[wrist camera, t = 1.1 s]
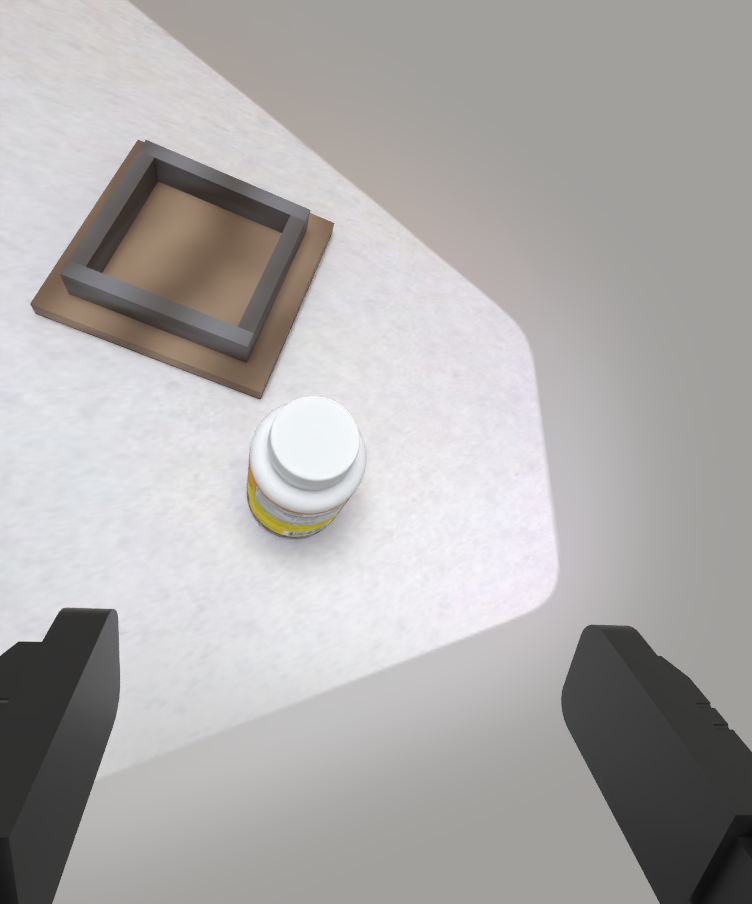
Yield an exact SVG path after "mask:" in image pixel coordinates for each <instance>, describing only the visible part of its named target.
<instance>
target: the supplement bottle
mask: <svg viewBox="0 0 752 904" xmlns="http://www.w3.org/2000/svg"><path fill="white" fill-rule="evenodd" d="M365 467H366V448H365V444H364V440H363V438H362V435H361V433H360V431H359V429H358V427H357V424H356V422H355V420H354V418H353V417H352V415H351V414H350V413H349V412H348V411H347V410H346V408H344V407H343V406H342V405H340V404H339V403H337V402H335V401H333V400H331V399H328V398H325V397H320V396H306V397H301V398H298V399H295V400H293V401H291V402H290V403H287V404H284V405H282V406H280V407H278V408H276V409H275V410H273V411H272V412H270V413H269V414H268V415H267V416H266V417H265V418H264V419H263V420H262V421H261V423H260V424H259V426H258V427H257V429H256V431H255V433H254V435H253V438H252V442H251V446H250V454H249V468H248V481H247V499H248V504H249V507H250V509H251V512H252V514H253V515H254V517H255V518H256V520H257V521H258V522H259V523H260V524H261V525H262V526H263V527H264V528H265V529H267V530H268V531H270V532H271V533H273V534H275V535H278V536H281V537H285V538H304V537H308V536H311V535H314V534H316V533H318V532H319V531H321V530H322V529H324V528H325V527H326V526H327V525H328V524H329V523H330V522H331V521H332V520H333V519H334V517H335V516H336V515H337V514H338V512H339V511H340V510H341V509H342V507H343V506H344V505H345V504H346V502H347V501H348V500H349V499H350V497H351V496H352V495H353V493H354V492H355V490H356V489H357V488H358V486H359V484H360V482H361V480H362V478H363V475H364V472H365Z"/></svg>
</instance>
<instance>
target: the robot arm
mask: <svg viewBox="0 0 752 904" xmlns="http://www.w3.org/2000/svg"><path fill="white" fill-rule="evenodd" d="M119 693H120V664H119V632H118V615H117V611H116V610H115V609H92V608H63V609H62V610H61V611H60V612H59V613H58V615H57V617H56V618H55V620H54V622H53V624H52V625H51V627H50V629H49V631H48V632H47V634H46V636H45V638H44V639H43V641H42V642H17V643H16V644H15V645H14V646H12V647H11V648H10V649H9V650H7V651H6V652H5V653H3V654H2V655H1V656H0V904H52V902H53V899H54V896H55V893H56V891H57V888H58V885H59V882H60V879H61V876H62V873H63V870H64V867H65V864H66V862H67V859H68V856H69V853H70V850H71V847H72V844H73V841H74V838H75V835H76V833H77V829H78V827H79V824H80V821H81V818H82V815H83V812H84V809H85V806H86V803H87V800H88V798H89V795H90V792H91V789H92V786H93V783H94V780H95V777H96V774H97V771H98V769H99V766H100V763H101V760H102V757H103V754H104V751H105V748H106V745H107V742H108V739H109V737H110V734H111V731H112V728H113V725H114V721H115V717H116V713H117V708H118V702H119ZM561 698H562V699H561V701H562V712H563V716H564V720H565V723H566V725H567V727H568V729H569V731H570V733H571V735H572V737H573V739H574V741H575V743H576V745H577V747H578V749H579V750H580V752H581V754H582V756H583V758H584V760H585V762H586V764H587V766H588V768H589V769H590V771H591V773H592V775H593V777H594V779H595V781H596V783H597V785H598V787H599V788H600V790H601V792H602V794H603V796H604V798H605V800H606V802H607V804H608V806H609V807H610V809H611V811H612V813H613V815H614V817H615V819H616V821H617V823H618V825H619V826H620V828H621V830H622V832H623V834H624V836H625V838H626V840H627V842H628V844H629V845H630V847H631V849H632V851H633V853H634V855H635V857H636V859H637V861H638V863H639V865H640V866H641V868H642V870H643V872H644V874H645V876H646V878H647V880H648V882H649V883H650V885H651V887H652V889H653V891H654V893H655V895H656V897H657V899H658V901H659V902H660V904H752V752H751V751H750V750H749V748H748V747H747V746H746V745H745V744H744V742H743V741H742V740H741V739H740V738H739V736H738V735H737V734H736V733H735V732H734V730H729V728H728V723H727V722H726V721H725V720H724V719H723V717H722V716H721V715H720V714H719V713H718V712H717V710H716V709H715V708H711V706H710V702H709V701H708V699H707V698H706V697H705V696H704V695H703V694H702V692H701V691H700V690H699V689H698V688H697V686H696V685H695V684H694V683H693V682H692V680H691V679H690V678H689V677H688V676H686V675H685V674H684V673H682V672H681V671H680V670H679V669H677V668H676V667H674V666H673V665H672V664H671V663H669V662H668V661H667V660H666V659H664V658H663V657H662V656H657V655H656V653H655V652H654V651H653V650H652V648H651V647H650V646H649V645H648V644H647V642H646V641H645V640H644V639H643V637H642V636H641V635H640V634H639V632H638V631H637V630H636V629H634V628H633V627H630V626H615V625H589V626H587V627H586V628H585V629H584V630H583V632H582V634H581V637H580V640H579V643H578V645H577V648H576V652H575V654H574V657H573V660H572V663H571V666H570V669H569V672H568V675H567V677H566V681H565V683H564V686H563V690H562V697H561Z"/></svg>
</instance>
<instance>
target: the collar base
mask: <svg viewBox="0 0 752 904" xmlns="http://www.w3.org/2000/svg"><path fill="white" fill-rule="evenodd" d="M333 226H334V223H332V222H330V221H328V220H325V219H323V218H321V217H318V216H316V215H314V214H311V213H310V210H309V209H307V208H305V207H302V206H300V205H298V204H295V203H293V202H290V201H288V200H286V199H283V198H281V197H279V196H276V195H274V194H272V193H269V192H267V191H265V190H262V189H260V188H258V187H255V186H253V185H251V184H248V183H246V182H244V181H241V180H239V179H237V178H234V177H232V176H229V175H227V174H225V173H222V172H220V171H218V170H215V169H213V168H211V167H208V166H206V165H204V164H201V163H199V162H197V161H194V160H192V159H190V158H187V157H185V156H183V155H180V154H178V153H176V152H173V151H171V150H169V149H166V148H164V147H161V146H159V145H157V144H154V143H152V142H150V141H147V140H146V141H145V142H142V141H140V140H138V141H137V142H136V144H135V145H134V147H133V148H132V150H131V151H130V153H129V154H128V156H127V157H126V159H125V160H124V162H123V163H122V165H121V166H120V168H119V169H118V171H117V173H116V174H115V176H114V177H113V179H112V180H111V182H110V183H109V185H108V186H107V188H106V189H105V191H104V192H103V194H102V195H101V197H100V198H99V200H98V201H97V203H96V204H95V206H94V208H93V209H92V211H91V212H90V214H89V215H88V217H87V218H86V220H85V221H84V223H83V224H82V226H81V227H80V229H79V230H78V232H77V233H76V235H75V236H74V238H73V240H72V241H71V243H70V244H69V246H68V247H67V249H66V250H65V252H64V253H63V255H62V256H61V258H60V259H59V261H58V262H57V264H56V265H55V267H54V268H53V270H52V272H51V273H50V275H49V276H48V278H47V279H46V281H45V282H44V284H43V285H42V287H41V288H40V290H39V291H38V293H37V294H36V296H35V297H34V299H33V300H32V302H31V306H32V308H33V310H34V311H35V313H36V314H39V315H41V316H44V317H47V318H49V319H52V320H55V321H57V322H60V323H62V324H65V325H68V326H70V327H73V328H75V329H78V330H81V331H83V332H86V333H89V334H91V335H94V336H96V337H99V338H102V339H104V340H107V341H109V342H112V343H115V344H117V345H120V346H122V347H125V348H128V349H130V350H133V351H136V352H138V353H141V354H143V355H146V356H149V357H151V358H154V359H156V360H159V361H162V362H164V363H167V364H170V365H172V366H175V367H177V368H180V369H183V370H185V371H188V372H190V373H193V374H196V375H198V376H201V377H204V378H206V379H209V380H211V381H214V382H217V383H219V384H222V385H224V386H227V387H230V388H232V389H235V390H237V391H240V392H243V393H245V394H248V395H251V396H253V397H256V398H258V399H260V398H261V396H262V394H263V391H264V389H265V387H266V384H267V382H268V380H269V377H270V375H271V373H272V370H273V368H274V366H275V363H276V361H277V359H278V357H279V354H280V352H281V350H282V347H283V345H284V343H285V340H286V338H287V336H288V333H289V331H290V329H291V326H292V324H293V322H294V319H295V317H296V315H297V312H298V310H299V308H300V306H301V303H302V301H303V299H304V296H305V294H306V292H307V289H308V287H309V285H310V282H311V280H312V278H313V275H314V273H315V271H316V268H317V266H318V264H319V261H320V259H321V257H322V254H323V252H324V250H325V248H326V245H327V243H328V241H329V238H330V236H331V234H332V230H333Z"/></svg>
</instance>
